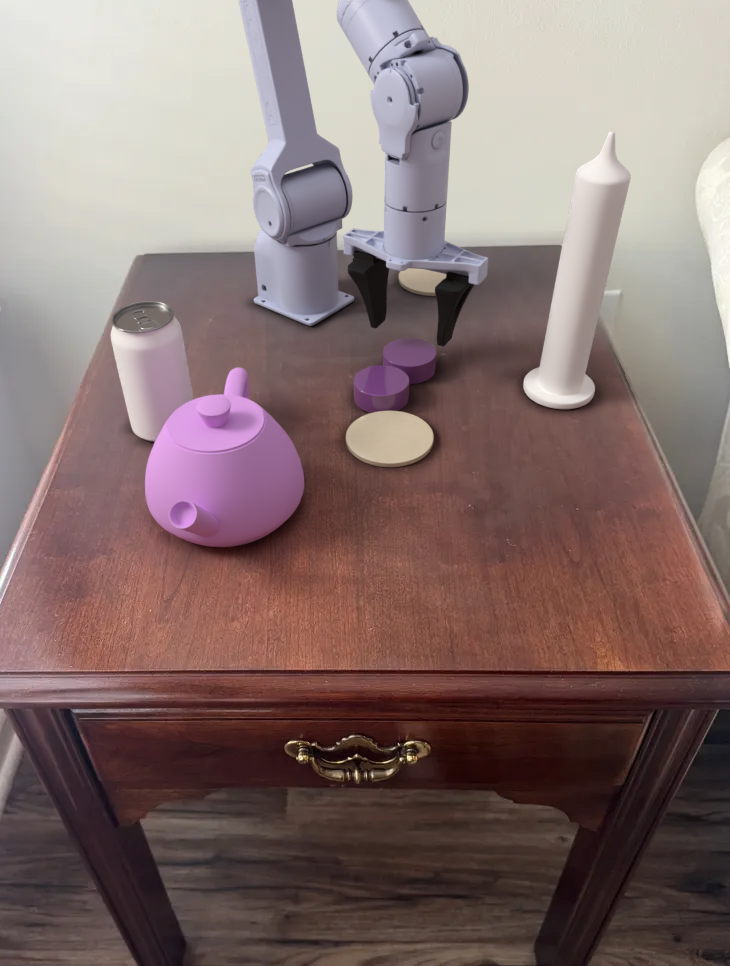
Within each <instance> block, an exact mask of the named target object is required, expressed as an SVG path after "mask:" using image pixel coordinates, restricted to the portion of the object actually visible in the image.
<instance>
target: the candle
mask: <svg viewBox="0 0 730 966" xmlns="http://www.w3.org/2000/svg"><path fill="white" fill-rule="evenodd" d="M631 178H632V177H631V172H630V171H629V170H628V168H627V167H625V166H624V165H623V164H622V163H621V161H620V160H619V159H618V157H617V153H616V132H615V131H614V130H611V131H609V132H608V133H607V136H606V138H605V140H604V143H603V145H602V147H601V150H599V152H598V153H597V155H596V157H594V158H592V159H590V160H588V161H587V162H585V163H583V164H582V165H580V166H579V167H578V168H577V170H576V172H575V175H574V181H573V186H572V192H571V196H570V203H569V206H568V212H567V218H566V223H565V229H564V234H563V239H562V245H561V251H560V256H559V261H558V266H557V272H556V277H555V282H554V288H553V293H552V298H551V304H550V308H549V315H548V320H547V324H546V331H545V335H544V341H543V347H542V351H541V356H540V362H539V366H537V367H536V368H533V369H531V370H530V371H529V372H527V373H526V375H525V376H524V379H523V383H522V386H523V391H524V393H525V394H526V396H527V397H528V398H529V399H530V400H531V401H533V402H535V403H536V404H538V405H541V406H543V407H545V408H550V409H555V410H557V409H558V410H572V409H573V410H574V409H577V408H581V407H583V406H586V405H587V404H589V403H590V402H591V401H592V400H593V398H594V396H595V391H596V385H595V383H594V381H593V379H591V377H589V375H587V373H586V372H587V368H588V364H589V359H590V355H591V351H592V347H593V342H594V337H595V333H596V330H597V325H598V320H599V318H600V317H599V316H600V312H601V308H602V303H603V299H604V294H605V291H606V287H607V281H608V278H609V273H610V269H611V265H612V260H613V256H614V251H615V247H616V243H617V239H618V235H619V231H620V230H619V229H620V227H621V221H622V217H623V213H624V209H625V204H626V201H627V196H628V192H629V188H630V183H631Z"/></svg>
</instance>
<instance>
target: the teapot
mask: <svg viewBox="0 0 730 966" xmlns="http://www.w3.org/2000/svg"><path fill="white" fill-rule="evenodd" d="M250 389H251V388H250V377H249V374H248V372H247V370H246V369H245V368H243V367H238V366H237V367H234V368H232V369H231V370H230V371H229V373H228V375H227V377H226V381H225V385H224V391H223V393H222V394H221V393H220V394H210V395H209V394H207V395H204V396H199V397H196V398H193V400H191V401H189V402H187V403H185V404H183V405H182V406H180V407H179V408H178V409H176V410H175V411H174V412H173V413H172V414H171V416H170V417H169V418H168V420H167V421H166V423H165V424H164V426H163V428H162V429H161V431H160V433H159V435H158V437H157V439H156V441H155V442H153V445H152V448H151V451H150V452H149V456H148V459H147V462H146V468H145V477H144V490H145V491H144V495H145V501H146V505H147V508H148V511H149V513H150V515H151V516H152V517H153V519H154V520H155V521H156V523H157V524H158V525H159V526H160V527H161V528H162V529H163V530H165V531H167V532H168V533H169V534H171V535H173V536H175V537H177V538H179V539H181V540H184V541H186V542H189V543H192V544H195V545H200V546H204V547H210V548H231V547H238V546H239V547H240V546H243V545H246V544H250V543H253V542H255V541H258V540H260V539H263V538H264V537H266V536H268V535H270V534H271V533H273V532H274V531H275V530H277V529H278V528H280V527H281V526H282V525H283V524H284V523H285V522H286V521H287V520H289V518H290V517H291V516H292V515H293V514H294V513H295V512H296V510H297V509H298V506H299V505H300V502H301V500H302V497H303V494H304V491H305V490H304V489H305V474H304V469H303V465H302V462H301V458H300V456H299V454H298V451H297V449H296V447H295V444H294V443H293V441H292V439H291V438H290V436H289V435H288V433H287V432H286V431H285V429H284V428H283V427H282V426H281V425H280V424H279V423H278V422H277V421H276V419H275V418H274V417H273V416H272V415H271V414H270V413H269V412H268V411H267V410H265V409H264V408H263V406H261V405H259V404H258V403H257V402H255V401H253V400H251V395H250V394H251V390H250Z"/></svg>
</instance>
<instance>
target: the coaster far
mask: <svg viewBox="0 0 730 966" xmlns="http://www.w3.org/2000/svg"><path fill="white" fill-rule="evenodd" d="M445 278H446V274H443V273H439V272H434V271H430V270H425V269H416V268H408V269H407V270H405V271H399V273H398V279H397V280H398V284H399V285H400V286H401V288H403V289H404V290H405V291H407V292H409V293H411V294H415V295H420V296H425V297H436V294H435V287H436V286H437V285H438V284H439V283H440V282H441V281H442V280H443V279H445Z"/></svg>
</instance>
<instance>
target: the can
mask: <svg viewBox="0 0 730 966" xmlns="http://www.w3.org/2000/svg"><path fill="white" fill-rule="evenodd" d="M110 321H111V325H112V327H111V331H110V341H111V342H110V343H111V346H112V350H113V351H112V352H113V356H114V359H115V360H114V361H115V365H116V368H117V372H118V377H119V381H120V385H121V390H122V394H123V398H124V402H125V407H126V411H127V416H128V420H129V423H130V427H131V430H132V432H133V433H134V434H135V435H136V436H137V437H139V438H141V439H142V440H144V441H147V442H150V443H155V441H156V439H157V437H158V435H159V433H160V431H161V429H162V428H163V426H164V424H165V423H166V421H167V420H168V418H169V417H170V416H171V414H172V413H173V412H174V411H175V410H176V409H178V408H179V407H180V406H182V405H183V404H185V403H187V402H189V401H191V400H194V395H193V388H192V382H191V377H190V371H189V365H188V358H187V353H186V347H185V346H186V345H185V341H184V336H183V330H182V326H181V324H180V322H179V321H178V319H177V318H176V316H175V311H174V309H173V308H172V306H170V305H169V304H167V303H164V302H162V301H155V300H142V301H136V302H132V303H128V304H126V305H124V306H122V307H120V308H119V309H117V310H116V311H115V312H114V313H113V314H112V316H111V320H110Z"/></svg>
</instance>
